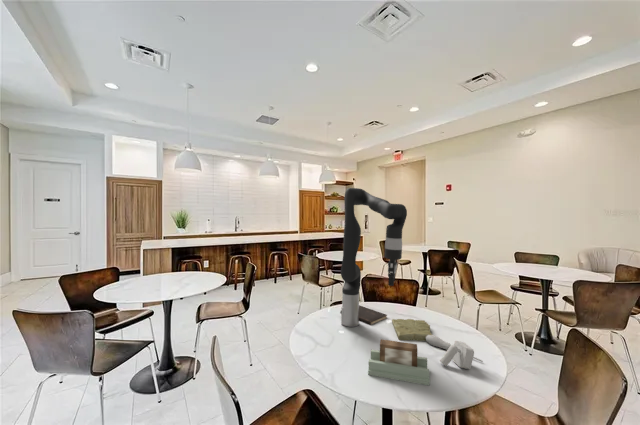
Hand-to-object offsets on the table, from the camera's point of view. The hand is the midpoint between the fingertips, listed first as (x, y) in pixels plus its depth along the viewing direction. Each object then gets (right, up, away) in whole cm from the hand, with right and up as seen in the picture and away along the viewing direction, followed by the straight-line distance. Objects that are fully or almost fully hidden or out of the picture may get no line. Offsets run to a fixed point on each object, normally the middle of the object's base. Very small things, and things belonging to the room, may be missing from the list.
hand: (391, 283), depth 125 cm
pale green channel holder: (-2, -30, -17) cm, 35 cm away
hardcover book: (-7, -31, +40) cm, 51 cm away
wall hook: (+22, -31, -13) cm, 40 cm away
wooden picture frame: (-2, -29, -17) cm, 33 cm away
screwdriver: (+27, -31, -2) cm, 41 cm away
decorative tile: (+16, -31, +19) cm, 39 cm away
